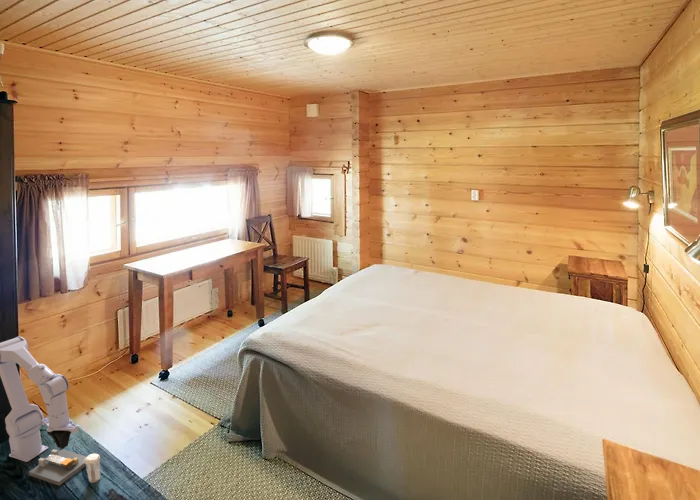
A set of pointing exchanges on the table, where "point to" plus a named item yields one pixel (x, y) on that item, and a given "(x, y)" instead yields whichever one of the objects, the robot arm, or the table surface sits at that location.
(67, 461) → the latch bar
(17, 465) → the table surface
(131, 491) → the table surface
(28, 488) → the table surface
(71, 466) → the base board
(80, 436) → the table surface
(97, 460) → the milkshake
